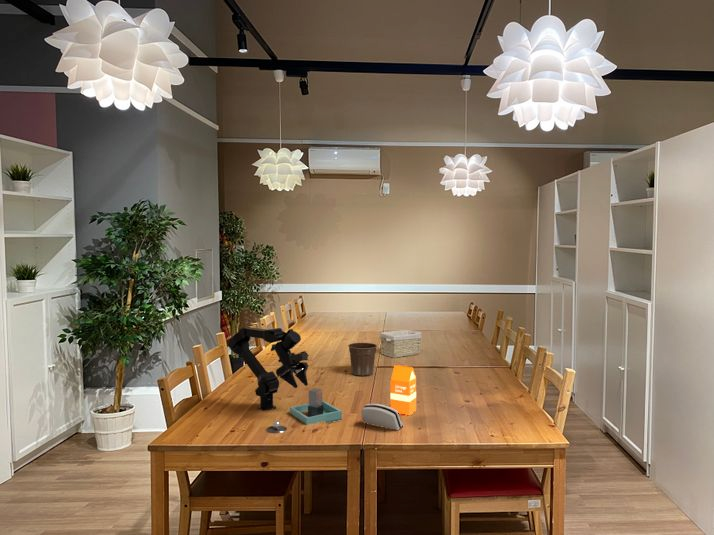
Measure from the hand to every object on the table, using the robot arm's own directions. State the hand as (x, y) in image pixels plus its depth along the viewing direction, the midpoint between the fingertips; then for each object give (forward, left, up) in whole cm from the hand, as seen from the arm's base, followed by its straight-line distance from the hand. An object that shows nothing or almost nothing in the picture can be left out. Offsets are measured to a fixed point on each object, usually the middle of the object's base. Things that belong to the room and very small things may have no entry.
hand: (301, 386), depth 207 cm
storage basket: (-71, +106, -13) cm, 128 cm away
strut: (+5, +4, -12) cm, 14 cm away
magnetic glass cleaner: (+26, +22, -13) cm, 37 cm away
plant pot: (-45, +59, -13) cm, 75 cm away
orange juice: (+17, +40, -13) cm, 46 cm away
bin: (+4, +4, -13) cm, 14 cm away
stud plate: (+10, -16, -13) cm, 23 cm away
